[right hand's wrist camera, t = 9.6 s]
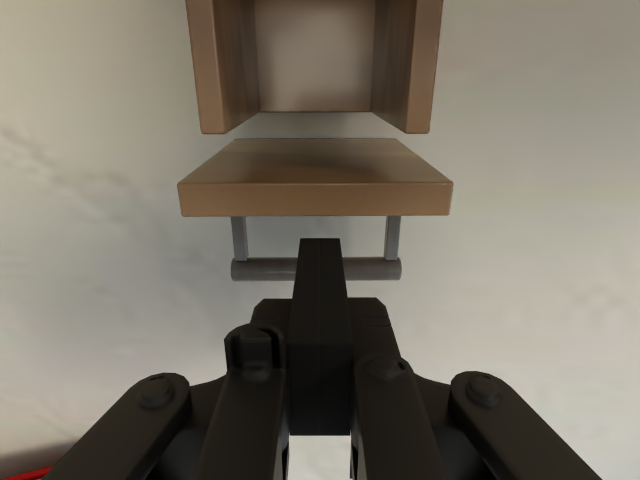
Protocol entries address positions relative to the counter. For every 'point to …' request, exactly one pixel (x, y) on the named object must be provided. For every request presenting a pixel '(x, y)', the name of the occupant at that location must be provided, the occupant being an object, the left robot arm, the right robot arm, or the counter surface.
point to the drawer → (314, 96)
